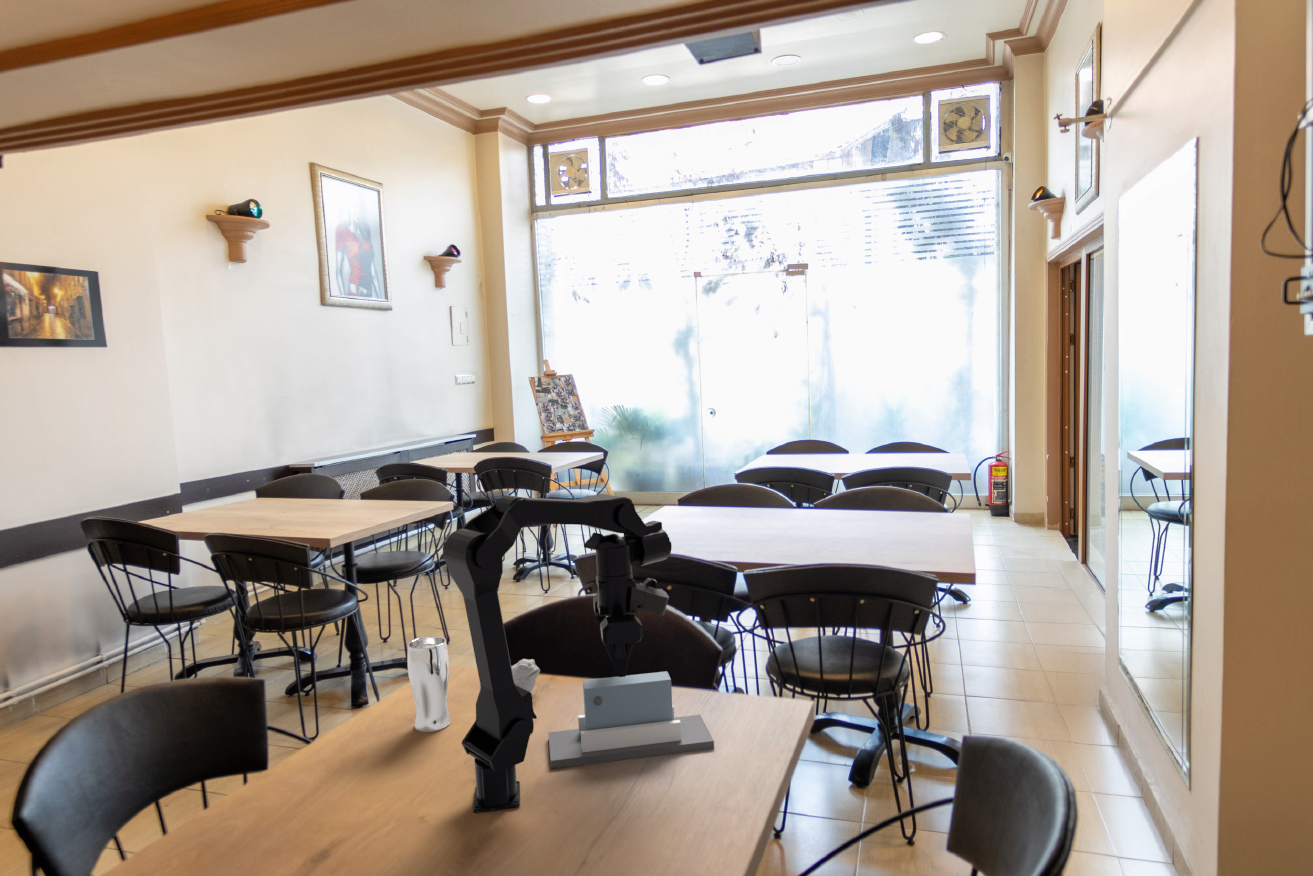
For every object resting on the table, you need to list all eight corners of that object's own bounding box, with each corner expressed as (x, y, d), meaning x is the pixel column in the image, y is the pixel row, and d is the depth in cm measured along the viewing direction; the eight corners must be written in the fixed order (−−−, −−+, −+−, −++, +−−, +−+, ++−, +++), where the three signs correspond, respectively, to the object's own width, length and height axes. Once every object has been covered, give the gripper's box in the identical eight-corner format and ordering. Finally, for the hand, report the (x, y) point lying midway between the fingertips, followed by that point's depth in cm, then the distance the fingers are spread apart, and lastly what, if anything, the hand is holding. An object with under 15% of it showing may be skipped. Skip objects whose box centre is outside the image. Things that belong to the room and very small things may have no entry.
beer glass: (441, 734, 138) (435, 649, 136) (404, 732, 139) (398, 648, 138) (459, 717, 144) (454, 636, 143) (424, 715, 146) (418, 635, 144)
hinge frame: (714, 748, 129) (713, 722, 128) (551, 768, 124) (549, 742, 124) (700, 721, 138) (699, 697, 138) (548, 739, 134) (547, 715, 134)
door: (674, 738, 130) (671, 680, 129) (588, 748, 128) (584, 690, 127) (669, 726, 134) (667, 671, 133) (585, 736, 132) (582, 680, 131)
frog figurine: (527, 704, 149) (525, 667, 148) (499, 697, 152) (497, 661, 152) (548, 692, 154) (546, 656, 153) (520, 685, 158) (518, 651, 157)
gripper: (673, 583, 122) (677, 682, 123) (654, 555, 140) (658, 642, 141) (600, 589, 120) (605, 690, 121) (591, 560, 138) (595, 648, 140)
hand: (619, 666), depth 131 cm, fingers open, 9 cm apart
